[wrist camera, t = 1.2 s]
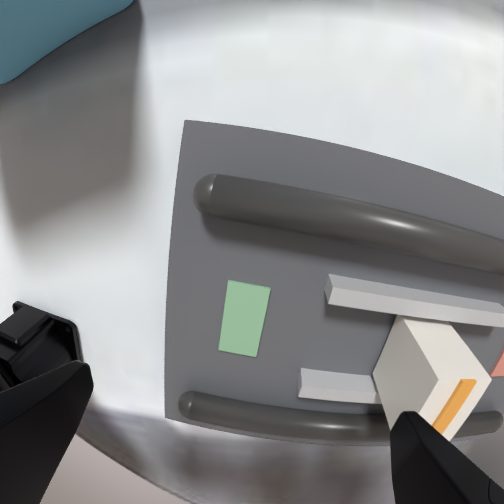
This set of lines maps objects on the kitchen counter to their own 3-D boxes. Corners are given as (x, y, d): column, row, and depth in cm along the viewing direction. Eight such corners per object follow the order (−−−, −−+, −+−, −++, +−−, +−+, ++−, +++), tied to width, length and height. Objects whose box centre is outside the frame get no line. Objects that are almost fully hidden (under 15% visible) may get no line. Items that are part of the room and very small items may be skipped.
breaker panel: (475, 418, 20) (492, 451, 16) (174, 394, 21) (157, 436, 17) (564, 226, 14) (601, 243, 10) (198, 123, 15) (171, 116, 11)
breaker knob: (416, 377, 16) (448, 447, 10) (372, 374, 16) (395, 451, 11) (445, 317, 14) (494, 381, 9) (398, 310, 15) (441, 382, 9)
